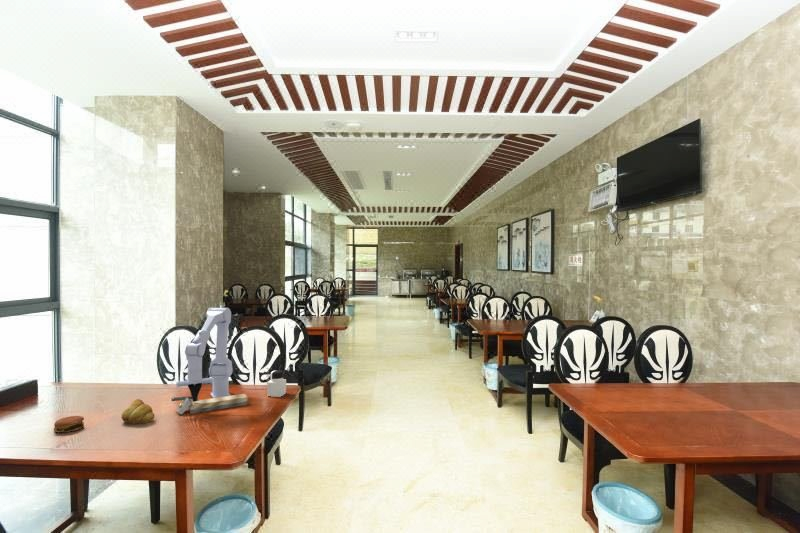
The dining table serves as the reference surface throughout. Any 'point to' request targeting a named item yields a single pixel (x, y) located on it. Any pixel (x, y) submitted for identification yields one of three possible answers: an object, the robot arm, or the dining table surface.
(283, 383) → the grey padlock
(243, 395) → the plane body
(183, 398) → the lever
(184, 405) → the lever cap
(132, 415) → the bread roll
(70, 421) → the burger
